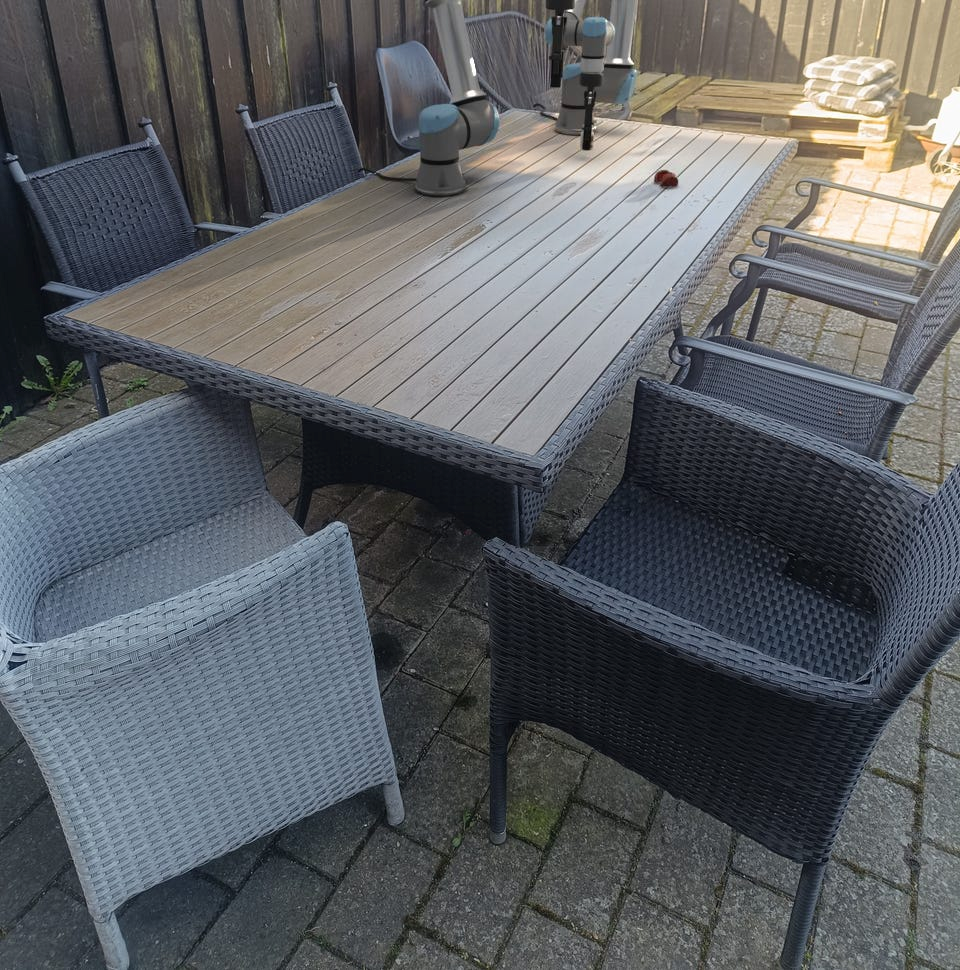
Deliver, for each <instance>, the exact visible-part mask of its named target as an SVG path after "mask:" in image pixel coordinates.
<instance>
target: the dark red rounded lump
mask: <svg viewBox="0 0 960 970" xmlns="http://www.w3.org/2000/svg"><path fill="white" fill-rule="evenodd" d="M653 182H654V183H659V186H660V188H669V187H671V188H672V187H678V186H679V179H678V177H677V174H676V173H674V172H670V171H669V170H668V169H661V170H659V171H657V172H656V173H655V175H654V178H653Z"/></svg>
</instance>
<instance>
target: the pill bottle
mask: <svg viewBox="0 0 960 970" xmlns="http://www.w3.org/2000/svg"><path fill="white" fill-rule="evenodd" d="M583 128H584V125H583ZM592 130H593V125H592ZM583 131H584V130H583ZM594 139H595V132H594V133H593V132H592V133H591V147H590V150H582V145H583V132H581V135H580V140H579V150H580V151H582V152H589V151H593V150H594Z"/></svg>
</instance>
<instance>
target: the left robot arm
mask: <svg viewBox="0 0 960 970" xmlns="http://www.w3.org/2000/svg"><path fill="white" fill-rule="evenodd" d="M424 2H425V5H426V6H427V7H428V8H429V9H431V10H432V14H433V18H434V22H435V27H436V32H437V35H438V40H439V46H440V48H441V53H442V58H443V62H444V67H445V71H446V75H447V80H448V84H449V88H450V92H451V98H450V101H449V103H441V104H434V105H433V104H432V105H430V106H427V107H426V108H424V109H422V110H421V111H420V112H419V116H418V134H419V135H418V136H419V157H420V158H419V159H420V161H419V162H420V164H419V168H418V172H417V176H416V178H415V177H393V176H388V175H387V176H386V175H383V174H382V173H380V172H378V173H376V172H377V171H376V170H372V169H370V168H368V167H360V168H358V170H357V171H356V173H361V172H362V171H364V172H368V173H371V174H373V175H376V176H378V177H379V178H381V179H384V180H388V181H400V182H415V192H417V193H418V194H420V195H424V196H430V197H450V196H455V195H459V194H461V193H463V192H464V191H466V181H465V179H464V178H465V176H464V172H462V169H461V165H460V151H461V150H465V149H471V148H473V147H480V146H484V145H486V144H488V143H489V144H490V143H491V142H492V141H493V140H494V139H495V138H496V136H497V133H498V132H499V129H500V115H499V111H498V109H497V107H496V106H495V104H493V103H492V102H490V101H488V98H487V94H486V92H484V91H483V90H481V89H480V84H479V79H478V76H477V70H476V66H475V61H474V57H473V52H472V47H471V41H470V38H469V33H468V29H467V23H466V19H465V15H464V11H463V5H462V0H424ZM574 8H575V0H545V9H546V10H550V11H554V16H552V17H551V19H552V35H553V42H552V45H551V54H550V55H549V56H548V61H550V78H549V79H550V81H549V88H556V89H558V88H559V89H560V88H562V79H563V70H564V60H565V58H564V57H565V51H567V47H568V46H564V45H565V43H564V35H565V32H566V25H567V17H565V14H566V11H565V10H572V9H574ZM374 173H376V174H374Z"/></svg>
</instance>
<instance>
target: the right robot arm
mask: <svg viewBox="0 0 960 970" xmlns="http://www.w3.org/2000/svg"><path fill="white" fill-rule="evenodd" d="M586 3H587V0H575V8H574V9H572V10H565V11H566V14H565V17H567V25H566V32H565V35H564V43H565V45H564V46H567V47H581V56H580V61H579V62H574V63H570V64H568V65H566V66H565V67H563V78H561V100H560V101H561V104H560V105H561V106H560V111H559V113H558V116H557V117H556V116H553V115H549V114H547V113H545V112H546V111H547V107H545V105H543V104H541V103H537V102H536V103H534V104H533V106H532V108H536V107H540V108H542V110H540V115H541V116H542V117H545V118H548V119H551V120H553V121H556V122H555V126H554V131H555V132H556V133H559V134H562V135H569V136H581V132H583V145H582V150H581V151H583V150H590V147H591V133H592V132H593V133H594V134H595V132H596V127H597V125H596V124H597V122H598V120H597V119H595V116H594V108H595V106H596V103H598V104H599V103H601V104H612V105H627V104H628V103H629V102H630V101H631V99H632V98H633V94H634V91H635V88H636V84H637V79H638V71H637V69H635V68H634V62H633V61H632V59H631V54H632V53H631V51H632V43H633V34H634V25H635V16H636V8H637V0H611V3H610V14H609V20H607V18H605V17H599V16H591V17H586V18H585V19H584V20H581V17H582V14H583V11H584V7H585V5H586ZM544 33H545V34H544V35H545V36H544V37H545V41H546V43H547V44H548V45H551V46H552V42H553V35H552V18H551V19H549V20H547V22H546V25H545V32H544ZM583 125H584V128H583ZM592 125H593V130H592ZM583 130H584V131H583Z"/></svg>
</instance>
